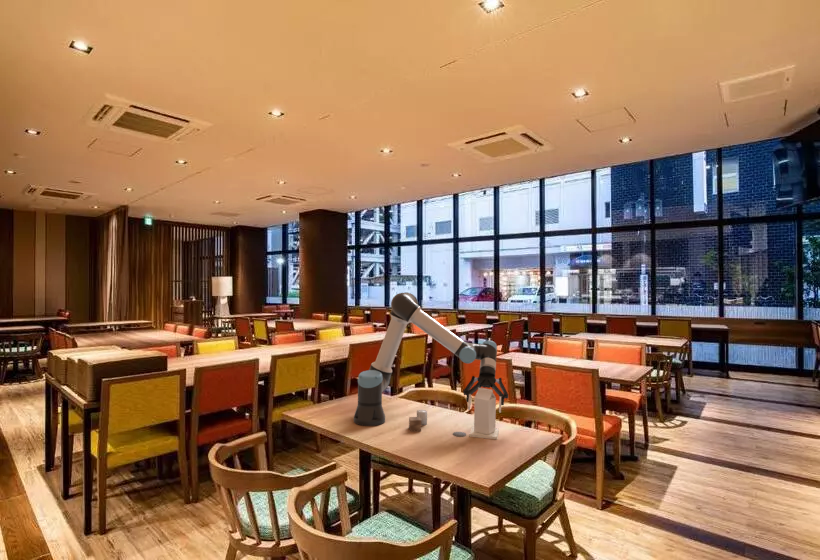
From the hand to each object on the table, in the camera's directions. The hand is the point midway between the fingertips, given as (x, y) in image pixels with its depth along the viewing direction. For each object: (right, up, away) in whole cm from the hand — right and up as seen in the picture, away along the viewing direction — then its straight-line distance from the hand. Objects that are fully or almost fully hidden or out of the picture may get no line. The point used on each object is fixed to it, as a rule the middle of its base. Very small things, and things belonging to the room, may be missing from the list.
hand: (484, 409), depth 191 cm
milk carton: (+1, -10, +2) cm, 11 cm away
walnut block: (-31, -11, +6) cm, 33 cm away
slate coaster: (-11, -11, 0) cm, 16 cm away
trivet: (0, -11, +2) cm, 11 cm away
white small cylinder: (-27, -11, +14) cm, 33 cm away
